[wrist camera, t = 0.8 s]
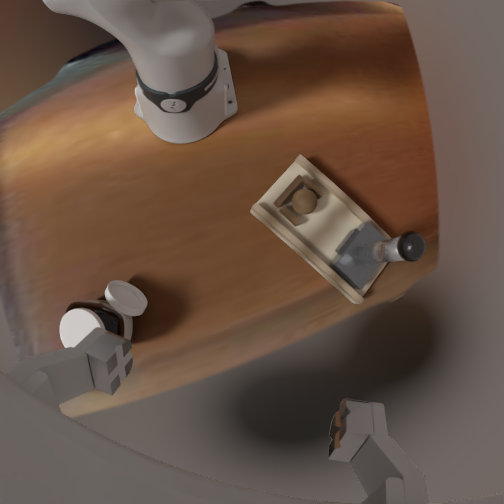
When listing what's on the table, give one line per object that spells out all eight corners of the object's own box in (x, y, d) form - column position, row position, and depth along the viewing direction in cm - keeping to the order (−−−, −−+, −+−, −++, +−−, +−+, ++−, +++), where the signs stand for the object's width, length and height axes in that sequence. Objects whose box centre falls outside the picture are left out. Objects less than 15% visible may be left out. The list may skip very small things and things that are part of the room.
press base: (391, 249, 53) (401, 248, 49) (352, 302, 52) (361, 304, 48) (295, 161, 53) (300, 153, 49) (250, 211, 52) (252, 206, 48)
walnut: (289, 191, 50) (294, 184, 46) (313, 193, 51) (320, 186, 47) (289, 216, 50) (294, 211, 46) (313, 217, 50) (321, 212, 46)
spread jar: (81, 338, 47) (49, 351, 36) (87, 273, 48) (55, 271, 37) (145, 353, 48) (125, 373, 37) (153, 286, 49) (133, 288, 38)
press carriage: (384, 247, 51) (451, 233, 33) (354, 289, 50) (416, 292, 32) (357, 220, 51) (416, 194, 33) (325, 261, 50) (376, 252, 32)
